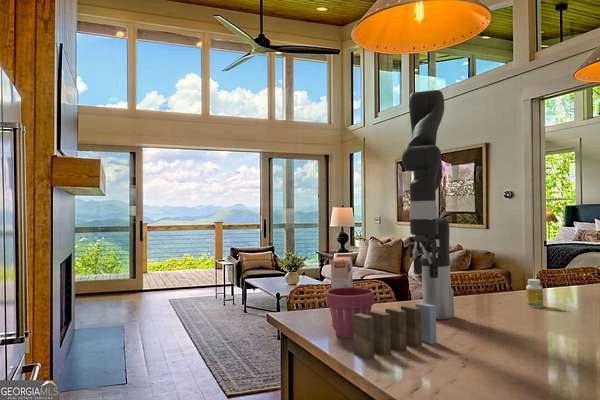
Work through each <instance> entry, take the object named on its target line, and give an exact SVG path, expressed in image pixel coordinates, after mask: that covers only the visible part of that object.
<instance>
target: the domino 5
mask: <svg viewBox="0 0 600 400" xmlns="http://www.w3.org/2000/svg"><path fill="white" fill-rule="evenodd" d="M414 305H415V307H417V308H421V331H422V343H426V344H429V345H431V344H432V345H433V344H436V343H438V342H437V341H438V340H437V339H438V338H437V319H436V311H435V305H430V304H425V303H423V302H417V303H415V304H414Z"/></svg>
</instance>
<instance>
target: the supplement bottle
mask: <svg viewBox="0 0 600 400" xmlns="http://www.w3.org/2000/svg"><path fill="white" fill-rule="evenodd" d="M540 284H541V280H540V279H538V278H537V279H535V278H528V279H527V285H526V287H525V292H526V306H527V307H529V308H543V307H544V292H543V290H544V289H543V286H542V285H540Z"/></svg>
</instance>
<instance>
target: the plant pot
mask: <svg viewBox="0 0 600 400" xmlns="http://www.w3.org/2000/svg"><path fill="white" fill-rule="evenodd" d="M325 293H326V294H325V295H326V299H325V300H326V305H327V306H328V307H329V308H330V309H329V310H330V314H331V321H332V320H333V324H334V326H333V327H334V333H335V335H336V336H337V337H338V338H344V339H354V336H353V314H358V313H360V314H364V315H368V316H370V311H372V308H373V307H372V306H374V305H375V291H374V290H373V289H371V288H367V287H355V286H353V287H343V288H334V289H332V288H330V289H328V290H326V292H325Z"/></svg>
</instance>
